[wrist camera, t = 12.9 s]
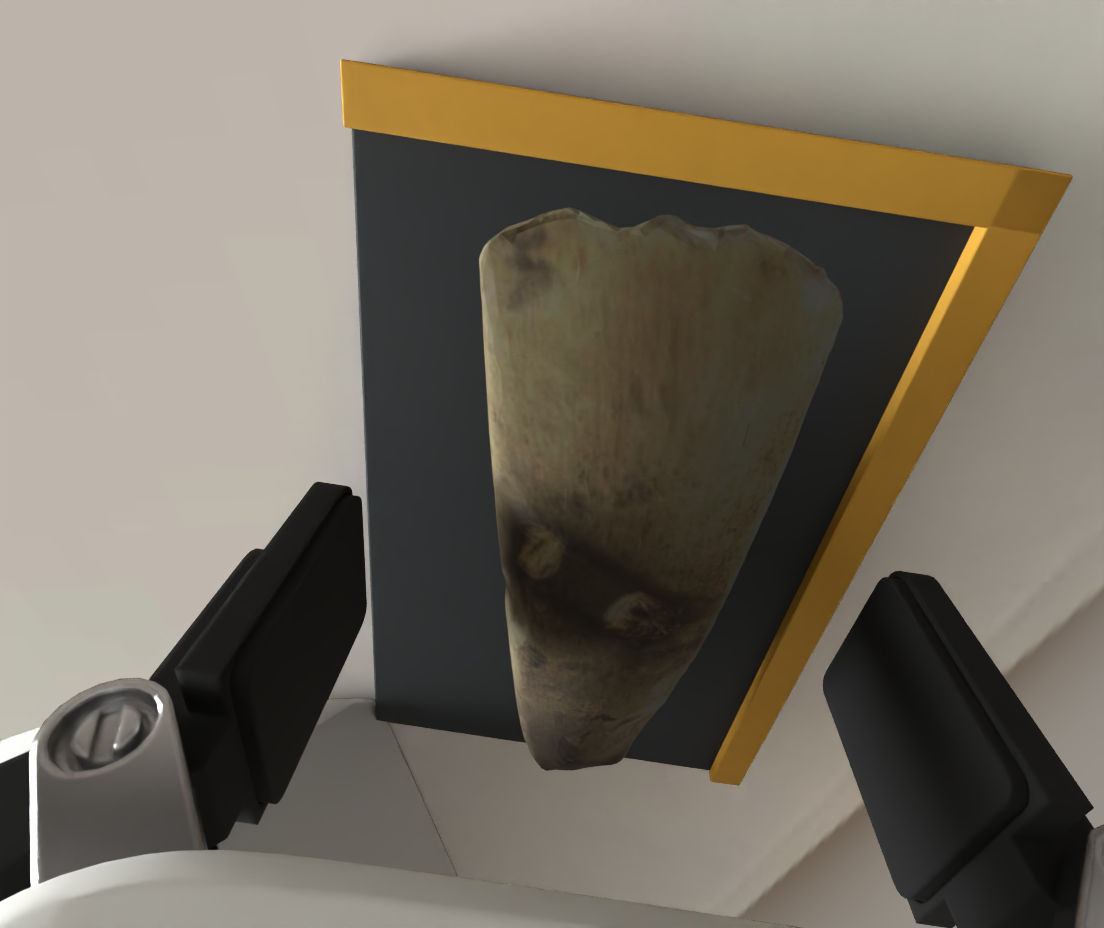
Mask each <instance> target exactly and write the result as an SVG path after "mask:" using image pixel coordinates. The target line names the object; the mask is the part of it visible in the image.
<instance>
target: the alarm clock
mask: <svg viewBox="0 0 1104 928" xmlns="http://www.w3.org/2000/svg"><path fill="white" fill-rule="evenodd" d="M39 729H40V728H37V729H34V730H31V731H28V732H25V733H22V734H19V735H16V736H13V737H10V738H8V739H5V740H2V741H0V763H2V762H4V761H6V760H9V759H11V758H13V757H16V756H18V755H20V754H23V753H25V752H27V751H30V750H31V748H32V743H33V739H34V737H35V736H36V734H37V732H38V731H39ZM219 848H220V850H233V851H248V852H262V853H276V854H287V855H295V856H303V857H311V858H319V859H327V860H335V861H343V862H351V863H359V864H367V865H375V866H383V867H391V868H399V869H406V870H413V871H420V872H427V873H434V874H441V875H448V876H455V877H457V875H456V873H455V870H454V868H453V866H452V864H451V861H450V859H449V857H448V855H447V853H446V850H445V848H444V846H443V844H442V841H441V839H440V837H439V835H438V833H437V830H436V828H435V826H434V824H433V821H432V819H431V817H430V815H429V813H428V810H427V808H426V806H425V804H424V801H423V799H422V797H421V795H420V793H419V790H418V788H417V786H416V784H415V781H414V779H413V777H412V775H411V772H410V770H409V768H408V766H407V764H406V761H405V759H404V757H403V755H402V752H401V750H400V748H399V746H398V744H397V741H396V739H395V737H394V735H393V732H392V730H391V728H390V726H389V724H388V722H384V721H378V720H376V703H375V701H374V700H371V699H369V698H363V699H328V700H327V702H326V704H325V707H324V709H323V711H322V713H321V715H320V718H319V720H318V722H317V724H316V726H315V728H314V731H313V733H312V735H311V737H310V739H309V741H308V744H307V746H306V748H305V750H304V752H303V755H302V757H301V759H300V761H299V763H298V765H297V768H296V770H295V772H294V774H293V776H292V779H291V781H290V783H289V785H288V787H287V789H286V792H285V794H284V795H283V797H282V799H281V800H280V802H279V803H277V804H269V803H268V805H267V807H266V809H265V811H264V814H263V816H262V818H261V820H260V822H259V824H258V825H254V824H248V823H241V822H235V824H234V826H233V828H232V830H231V832H230V834H229V836H228V838H227V839H225V840H224V841H222V842H220V843H219Z"/></svg>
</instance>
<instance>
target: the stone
mask: <svg viewBox="0 0 1104 928" xmlns="http://www.w3.org/2000/svg"><path fill="white" fill-rule="evenodd" d="M479 269H480V288H481V299H482V316H483V337H484V356H485V372H486V388H487V404H488V421H489V436H490V448H491V460H492V473H493V484H494V493H495V506H496V518H497V528H498V537H499V546H500V556H501V565H502V571H503V575H504V578H505V581H506V594H505V608H506V618H507V626H508V635H509V646H510V655H511V664H512V671H513V678H514V687H515V696H516V702H517V708H518V713H519V718H520V723H521V728H522V732H523V736H524V739H525V741H526V743H527V745H528V748H529V751H530V753H531V755H532V756H533V758H534V760H535V761H536V762H537V763H538V765H539V766H540V767H541V768H542V769H544V770H546V771H549V770H577V769H582V768H587V767H594V766H602V765H612V764H617V763H618V762H620V761H621V760H622V759H623V758H624V757H625V756H626V754H627V752H628V750H629V748H630V746H631V745H632V743H633V741H634V740H635V738H636V736H637V735H638V734H639V732H640V731H641V730H642V729H643V727H644V726H645V724H646V723H647V722H648V721H649V720H650V719H651V718H652V716H653V715H654V714H655V712H656V711H657V710H658V709H659V708H660V707H661V706H662V705H663V704H664V703H665V702H666V700H667V698H668V697H669V695H670V693H671V692H672V690H673V689H674V687H675V686H676V684H677V683H678V681H679V679H680V678H681V677H682V675H683V674H684V673H685V671H686V670H687V669H688V667H689V665H690V663H691V662H692V661H693V660H694V659H695V657H696V655H697V654H698V652H699V650H700V648H701V646H702V644H703V642H704V641H705V639H706V637H707V635H708V634H709V632H710V631H711V629H712V627H713V625H714V623H715V621H716V618H717V616H718V613H719V611H720V610H721V608H722V607H723V605H724V603H725V601H726V599H727V596H728V594H729V592H730V590H731V588H732V586H733V584H734V582H735V579H736V577H737V575H738V573H739V571H740V569H741V567H742V565H743V563H744V561H745V558H746V555H747V553H748V550H749V548H750V546H751V544H752V542H753V540H754V538H755V536H756V534H757V531H758V529H759V527H760V524H761V522H762V520H763V518H764V516H765V514H766V512H767V509H768V507H769V505H770V503H771V500H772V498H773V496H774V493H775V491H776V488H777V486H778V483H779V481H780V479H781V477H782V474H783V472H784V470H785V468H786V465H787V463H788V461H789V458H790V456H791V453H792V451H793V448H794V445H795V442H796V440H797V437H798V434H799V431H800V429H801V426H802V423H803V421H804V418H805V415H806V413H807V410H808V408H809V405H810V403H811V400H812V398H813V395H814V393H815V391H816V388H817V386H818V384H819V381H820V378H821V375H822V372H823V369H824V366H825V364H826V361H827V358H828V356H829V354H830V352H831V350H832V348H833V346H834V342H835V339H836V336H837V332H838V330H839V327H840V324H841V322H842V319H843V302H842V299H841V295H840V292H839V289H838V288H837V287H836V286H835V285H834V284H833V283H832V282H831V280H830V279H829V278H828V277H827V276H826V275H827V274H826V272H825V270H824V268H822V267H819V266H816V265H815V264H814V263H813V262H812V261H811V260H810V259H808V258H807V257H805V256H804V255H803V254H801V253H800V252H798V251H797V250H795V249H794V248H792V247H791V246H789V245H788V244H786V243H784V242H782V241H780V240H777V239H775V238H773V237H771V236H768V235H765V234H762V233H759V232H757V231H755V230H754V229H752V228H751V227H749V226H748V225H746V224H745V225H729V226H723V227H717V228H708V227H698V226H695V225H693V224H690V223H688V222H686V221H684V220H682V219H680V218H679V217H677V216H674V215H659V216H657V217H655V218H653V219H651V220H649V221H646V222H644V223H641V224H639V225H636V226H634V227H624V228H619V227H616V226H614V225H611V224H609V223H607V222H604V221H602V220H599V219H597V218H595V217H593V216H591V215H589V214H587V213H585V212H583V211H581V210H578V209H574V208H570V207H568V208H564V209H558V210H553V211H549V212H546V213H543V214H540V215H538V216H537V217H534V218H532V219H529V220H527V221H524V222H521V223H518V224H515V225H512V226H509V227H507V228H505V229H504V230H503V231H501V232H500V233H498V234H497V235H496V236H494V237H493V238H492V239H491V240H490V241H489V242H488V243H487V244H486V245H485V246H484V248H483V250H482V252H481V254H480V256H479Z"/></svg>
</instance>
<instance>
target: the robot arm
mask: <svg viewBox="0 0 1104 928" xmlns="http://www.w3.org/2000/svg"><path fill="white" fill-rule="evenodd" d="M366 607H367V599H366V578H365V558H364V537H363V516H362V501H361V498H360V497H359V496H353V495H352V490H351V488H350V487H348V486H342V485H336V484H329V483H323V482H316V483H314V484H313V485H312V487H311V488H310V489H309V491H308V492H307V493H306V495H305V496H304V497H303V499H302V500H301V501H300V503H299V504H298V505H297V507H296V508H295V509H294V511H293V512H292V513H291V515H290V516H289V517H288V519H287V520H286V521H285V523H284V524H283V525H282V527H281V528H280V529H279V531H278V532H277V533H276V534H275V536H274V537H273V538H272V540H271V541H270V542H269V544H268V545H267V546H266V548H265V549H264V550H263V549H254V550H252V551H250V552H249V553H248V554H247V555H246V556H245V557H244V558H243V560H242V561H241V562H240V564H239V565H238V566H237V567H236V569H235V570H234V571H233V572H232V574H231V575H230V576H229V578H228V579H227V580H226V581H225V583H224V584H223V585H222V587H221V588H220V589H219V590H218V592H217V593H216V594H215V595H214V597H213V598H212V599H211V601H210V602H209V603H208V604H207V606H206V607H205V608H204V610H203V611H202V612H201V613H200V615H199V616H198V617H197V618H196V620H195V621H194V622H193V624H192V625H191V626H190V627H189V629H188V630H187V631H186V633H185V634H184V635H183V636H182V638H181V639H180V640H179V641H178V643H177V644H176V645H175V647H174V648H173V649H172V650H171V652H170V653H169V654H168V656H167V657H166V658H165V659H164V661H163V662H162V663H161V664H160V666H159V667H158V668H157V670H156V671H155V672H154V673H153V675H152V676H151V677H150V679H149V680H146V679H142V678H125V679H117V680H113V681H109V682H105V683H101V684H98V685H96V686H94V687H92V688H90V689H87V690H85V691H83V692H81V693H79V694H77V695H76V696H74V697H73V698H71V699H70V700H68V701H67V702H65V703H64V704H62V705H61V706H59V707H58V708H57V709H56V710H55V711H54V712H53V713H52V714H51V715H50V716H49V717H48V718H47V719H46V720H45V721H44V723H43V724H42V726H41V727H40V729H39V731H38V732H37V734H36V736H35V737H34V739H33V743H32V748H31V750H30V751H27V752H25V753H23V754H20V755H18V756H16V757H13V758H11V759H9V760H6V761H4V762H2V763H0V928H800V927H793V926H787V925H780V924H774V923H768V922H761V921H754V920H748V919H741V918H734V917H728V916H721V915H714V914H708V913H701V912H694V911H688V910H681V909H674V908H667V907H661V906H654V905H647V904H640V903H634V902H627V901H620V900H613V899H607V898H600V897H593V896H586V895H580V894H573V893H566V892H559V891H552V890H545V889H538V888H531V887H524V886H517V885H510V884H503V883H496V882H489V881H482V880H475V879H468V878H461V877H455V876H448V875H441V874H434V873H427V872H420V871H413V870H406V869H399V868H391V867H383V866H375V865H367V864H359V863H351V862H343V861H335V860H327V859H319V858H311V857H303V856H295V855H287V854H276V853H262V852H248V851H233V850H220V848H219V843H220V842H222V841H224V840H225V839H227V838H228V836H229V834H230V832H231V830H232V828H233V826H234V824H235V822H241V823H248V824H254V825H258V824H259V822H260V820H261V818H262V816H263V814H264V811H265V809H266V807H267V805H268V803H269V804H277V803H279V802H280V800H281V799H282V797H283V795H284V794H285V792H286V789H287V787H288V785H289V783H290V781H291V779H292V776H293V774H294V772H295V770H296V768H297V765H298V763H299V761H300V759H301V757H302V755H303V752H304V750H305V748H306V746H307V744H308V741H309V739H310V737H311V735H312V733H313V731H314V728H315V726H316V724H317V722H318V720H319V718H320V715H321V713H322V711H323V709H324V707H325V704H326V702H327V700H328V698H329V696H330V694H331V691H332V689H333V687H334V685H335V683H336V680H337V678H338V676H339V674H340V672H341V670H342V667H343V665H344V663H345V661H346V659H347V657H348V654H349V652H350V650H351V648H352V646H353V643H354V641H355V639H356V637H357V635H358V633H359V630H360V628H361V626H362V624H363V621H364V618H365V614H366ZM823 691H824V695H825V698H826V700H827V703H828V706H829V709H830V711H831V714H832V717H833V719H834V722H835V725H836V728H837V730H838V733H839V736H840V738H841V741H842V744H843V747H844V749H845V752H846V755H847V757H848V760H849V763H850V766H851V768H852V771H853V774H854V776H855V779H856V782H857V785H858V787H859V790H860V793H861V795H862V798H863V801H864V804H865V806H866V809H867V812H868V814H869V817H870V820H871V823H872V825H873V828H874V830H875V833H876V836H877V839H878V842H879V844H880V847H881V849H882V852H883V855H884V857H885V861H886V863H887V866H888V869H889V871H890V874H891V877H892V879H893V882H894V884H895V886H896V889H897V890H898V892H899V893H900V895H901V896H903V897H904V898H907V900H908V902H909V905H910V907H911V910H912V913H913V915H914V918H915V920H916V923H919V924H925V925H932V926H939V927H946V928H953V927H954V926H955V925H956V926H957V928H1104V825H1101V826H1099V827H1097V828H1093V826H1092V825H1091V823H1090V822H1089V820H1088V819H1087V817H1086V816H1085V815H1086V814H1087V813H1088V812H1090V811H1091V810H1092V809H1093V808H1094V807H1093V806H1092V804H1091V803H1090V802H1089V800H1088V799H1087V797H1086V796H1085V794H1084V793H1083V791H1082V790H1081V788H1080V787H1079V786H1078V784H1077V783H1076V781H1075V780H1074V778H1073V777H1072V775H1071V774H1070V772H1069V771H1068V770H1067V768H1066V767H1065V765H1064V764H1063V762H1062V761H1061V760H1060V758H1059V757H1058V755H1057V754H1056V753H1055V751H1054V749H1053V748H1052V746H1051V745H1050V744H1049V742H1048V741H1047V739H1046V738H1045V736H1044V735H1043V733H1042V732H1041V730H1040V729H1039V728H1038V726H1037V725H1036V723H1035V722H1034V720H1033V719H1032V717H1031V716H1030V714H1029V713H1028V712H1027V710H1026V709H1025V707H1024V706H1023V704H1022V703H1021V701H1020V700H1019V699H1018V697H1017V696H1016V694H1015V693H1014V691H1013V690H1012V688H1011V687H1010V685H1009V684H1008V683H1007V681H1006V680H1005V678H1004V677H1003V675H1002V674H1001V672H1000V671H999V669H998V668H997V667H996V665H995V664H994V662H993V661H992V659H991V658H990V656H989V655H988V654H987V652H986V651H985V649H984V648H983V646H982V645H981V643H980V642H979V640H978V639H977V638H976V636H975V635H974V633H973V632H972V630H971V629H970V627H969V626H968V625H967V623H966V622H965V620H964V619H963V617H962V616H961V614H960V613H959V611H958V610H957V609H956V607H955V606H954V604H953V603H952V601H951V600H950V598H949V597H948V595H947V594H946V593H945V591H944V590H943V588H942V587H941V585H940V584H939V582H938V581H937V580H936V579H935V578H934V577H931V576H929V575H923V574H916V573H910V572H903V571H895V572H893V573H891V574H890V576H889V577H884V578H882V579H881V580H880V581H879V582H878V584H877V585H876V587H875V589H874V590H873V592H872V594H871V596H870V597H869V599H868V601H867V602H866V604H865V606H864V608H863V609H862V611H861V613H860V614H859V616H858V618H857V620H856V621H855V623H854V625H853V626H852V628H851V630H850V632H849V633H848V635H847V637H846V638H845V640H844V642H843V643H842V645H841V647H840V649H839V650H838V652H837V654H836V655H835V657H834V659H833V661H832V662H831V664H830V666H829V667H828V669H827V671H826V673H825V675H824V679H823Z"/></svg>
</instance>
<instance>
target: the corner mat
mask: <svg viewBox="0 0 1104 928" xmlns="http://www.w3.org/2000/svg"><path fill="white" fill-rule="evenodd" d="M340 66H341V87H342V108H343V125H344V126H345V127H347V128H352V144H353V169H354V193H355V217H356V241H357V266H358V290H359V314H360V339H361V363H362V387H363V411H364V436H365V460H366V484H367V509H368V533H369V557H370V581H371V606H372V630H373V654H374V679H375V703H376V720H378V721H384V722H391V723H398V724H404V725H411V726H418V727H424V728H431V729H438V730H444V731H451V732H458V733H464V734H471V735H478V736H484V737H491V738H497V739H504V740H511V741H517V742H524V743H526V741H525V739H524V736H523V732H522V728H521V723H520V718H519V713H518V708H517V702H516V696H515V687H514V678H513V671H512V664H511V655H510V646H509V635H508V626H507V618H506V608H505V594H506V581H505V578H504V575H503V571H502V565H501V556H500V546H499V537H498V528H497V518H496V506H495V493H494V484H493V473H492V460H491V448H490V436H489V421H488V404H487V388H486V372H485V356H484V337H483V316H482V299H481V288H480V269H479V256H480V254H481V252H482V250H483V248H484V246H485V245H486V244H487V243H488V242H489V241H490V240H491V239H492V238H493V237H494V236H496V235H497V234H498V233H500V232H501V231H503V230H504V229H505V228H507V227H509V226H512V225H515V224H518V223H521V222H524V221H527V220H529V219H532V218H534V217H537V216H538V215H540V214H543V213H546V212H549V211H553V210H558V209H564V208H568V207H570V208H574V209H578V210H581V211H583V212H585V213H587V214H589V215H591V216H593V217H595V218H597V219H599V220H602V221H604V222H607V223H609V224H611V225H614V226H616V227H619V228H624V227H634V226H636V225H639V224H641V223H644V222H646V221H649V220H651V219H653V218H655V217H657V216H659V215H674V216H677V217H679V218H680V219H682V220H684V221H686V222H688V223H690V224H693V225H695V226H698V227H708V228H717V227H723V226H729V225H745V224H746V225H748V226H749V227H751V228H752V229H754V230H755V231H757V232H759V233H762V234H765V235H768V236H771V237H773V238H775V239H777V240H780V241H782V242H784V243H786V244H788V245H789V246H791V247H792V248H794V249H795V250H797V251H798V252H800V253H801V254H803V255H804V256H805V257H807V258H808V259H810V260H811V261H812V262H813V263H814V264H815V265H816V266H819V267H822V268H824V270H825V272H826V274H827V275H826V276H827V277H828V278H829V279H830V280H831V282H832V283H833V284H834V285H835V286H836V287H837V288H838V289H839V292H840V295H841V299H842V302H843V319H842V322H841V324H840V327H839V330H838V332H837V336H836V339H835V342H834V346H833V348H832V350H831V352H830V354H829V356H828V358H827V361H826V364H825V366H824V369H823V372H822V375H821V378H820V381H819V384H818V386H817V388H816V391H815V393H814V395H813V398H812V400H811V403H810V405H809V408H808V410H807V413H806V415H805V418H804V421H803V423H802V426H801V429H800V431H799V434H798V437H797V440H796V442H795V445H794V448H793V451H792V453H791V456H790V458H789V461H788V463H787V465H786V468H785V470H784V472H783V474H782V477H781V479H780V481H779V483H778V486H777V488H776V491H775V493H774V496H773V498H772V500H771V503H770V505H769V507H768V509H767V512H766V514H765V516H764V518H763V520H762V522H761V524H760V527H759V529H758V531H757V534H756V536H755V538H754V540H753V542H752V544H751V546H750V548H749V550H748V553H747V555H746V558H745V561H744V563H743V565H742V567H741V569H740V571H739V573H738V575H737V577H736V579H735V582H734V584H733V586H732V588H731V590H730V592H729V594H728V596H727V599H726V601H725V603H724V605H723V607H722V608H721V610H720V611H719V613H718V616H717V618H716V621H715V623H714V625H713V627H712V629H711V631H710V632H709V634H708V635H707V637H706V639H705V641H704V642H703V644H702V646H701V648H700V650H699V652H698V654H697V655H696V657H695V659H694V660H693V661H692V662H691V663H690V665H689V667H688V669H687V670H686V671H685V673H684V674H683V675H682V677H681V678H680V679H679V681H678V683H677V684H676V686H675V687H674V689H673V690H672V692H671V693H670V695H669V697H668V698H667V700H666V702H665V703H664V704H663V705H662V706H661V707H660V708H659V709H658V710H657V711H656V712H655V714H654V715H653V716H652V718H651V719H650V720H649V721H648V722H647V723H646V724H645V726H644V727H643V729H642V730H641V731H640V732H639V734H638V735H637V736H636V738H635V740H634V741H633V743H632V745H631V746H630V748H629V750H628V752H627V754H626V756H625V757H624V758H630V759H637V760H644V761H650V762H657V763H664V764H670V765H677V766H684V767H690V768H697V769H704V770H710V771H709V774H710V780H711V782H717V783H724V784H731V785H737V786H739V785H740V783H741V782H742V780H743V778H744V776H745V774H746V773H747V771H748V769H749V767H750V765H751V763H752V762H753V760H754V758H755V756H756V754H757V752H758V751H759V749H760V747H761V745H762V743H763V742H764V740H765V738H766V736H767V734H768V732H769V731H770V729H771V727H772V725H773V723H774V721H775V720H776V718H777V716H778V714H779V712H780V711H781V709H782V707H783V705H784V703H785V701H786V700H787V698H788V696H789V694H790V692H791V690H792V689H793V687H794V685H795V683H796V681H797V680H798V678H799V676H800V674H801V672H802V670H803V669H804V667H805V665H806V663H807V661H808V659H809V658H810V656H811V654H812V652H813V650H814V649H815V647H816V645H817V643H818V641H819V639H820V638H821V636H822V634H823V632H824V630H825V628H826V627H827V625H828V623H829V621H830V619H831V618H832V616H833V614H834V612H835V610H836V608H837V607H838V605H839V603H840V601H841V599H842V597H843V596H844V594H845V592H846V590H847V588H848V587H849V585H850V583H851V581H852V579H853V577H854V576H855V574H856V572H857V570H858V568H859V566H860V565H861V563H862V561H863V559H864V557H865V556H866V554H867V552H868V550H869V548H870V546H871V545H872V543H873V541H874V539H875V537H876V535H877V534H878V532H879V530H880V528H881V526H882V525H883V523H884V521H885V519H886V517H887V515H888V514H889V512H890V510H891V508H892V506H893V504H894V503H895V501H896V499H897V497H898V495H899V494H900V492H901V490H902V488H903V486H904V484H905V483H906V481H907V479H908V477H909V475H910V473H911V472H912V470H913V468H914V466H915V464H916V463H917V461H918V459H919V457H920V455H921V453H922V452H923V450H924V448H925V446H926V444H927V442H928V441H929V439H930V437H931V435H932V433H933V432H934V430H935V428H936V426H937V424H938V422H939V421H940V419H941V417H942V415H943V413H944V411H945V410H946V408H947V406H948V404H949V402H950V401H951V399H952V397H953V395H954V393H955V391H956V390H957V388H958V386H959V384H960V382H961V380H962V379H963V377H964V375H965V373H966V371H967V370H968V368H969V366H970V364H971V362H972V360H973V359H974V357H975V355H976V353H977V351H978V349H979V348H980V346H981V344H982V342H983V340H984V339H985V337H986V335H987V333H988V331H989V329H990V328H991V326H992V324H993V322H994V320H995V318H996V317H997V315H998V313H999V311H1000V309H1001V308H1002V306H1003V304H1004V302H1005V300H1006V298H1007V297H1008V295H1009V293H1010V291H1011V289H1012V287H1013V286H1014V284H1015V282H1016V280H1017V278H1018V277H1019V275H1020V273H1021V271H1022V269H1023V267H1024V266H1025V264H1026V262H1027V260H1028V258H1029V256H1030V255H1031V253H1032V251H1033V249H1034V247H1035V245H1036V244H1037V242H1038V240H1039V238H1040V236H1041V235H1042V233H1043V231H1044V229H1045V227H1046V225H1047V224H1048V222H1049V220H1050V218H1051V216H1052V214H1053V213H1054V211H1055V209H1056V207H1057V205H1058V204H1059V202H1060V200H1061V198H1062V196H1063V194H1064V193H1065V191H1066V189H1067V187H1068V185H1069V183H1070V182H1071V180H1072V178H1073V176H1072V175H1070V174H1063V173H1057V172H1051V171H1045V170H1039V169H1032V168H1026V167H1020V166H1013V165H1007V164H1001V163H994V162H988V161H982V160H976V159H969V158H963V157H957V156H950V155H944V154H938V153H931V152H925V151H919V150H912V149H906V148H900V147H893V146H887V145H881V144H875V143H868V142H862V141H856V140H849V139H843V138H837V137H830V136H824V135H818V134H811V133H805V132H799V131H793V130H786V129H780V128H774V127H767V126H761V125H755V124H748V123H742V122H736V121H729V120H723V119H717V118H711V117H704V116H698V115H692V114H685V113H679V112H673V111H666V110H660V109H654V108H647V107H641V106H635V105H629V104H622V103H616V102H610V101H603V100H597V99H591V98H584V97H578V96H572V95H565V94H559V93H553V92H547V91H540V90H534V89H528V88H521V87H515V86H509V85H502V84H496V83H490V82H483V81H477V80H471V79H465V78H458V77H452V76H446V75H439V74H433V73H427V72H420V71H414V70H408V69H401V68H395V67H389V66H383V65H376V64H370V63H364V62H357V61H351V60H344V59H342V60H341V61H340Z"/></svg>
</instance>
